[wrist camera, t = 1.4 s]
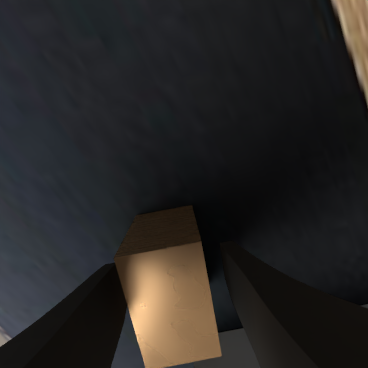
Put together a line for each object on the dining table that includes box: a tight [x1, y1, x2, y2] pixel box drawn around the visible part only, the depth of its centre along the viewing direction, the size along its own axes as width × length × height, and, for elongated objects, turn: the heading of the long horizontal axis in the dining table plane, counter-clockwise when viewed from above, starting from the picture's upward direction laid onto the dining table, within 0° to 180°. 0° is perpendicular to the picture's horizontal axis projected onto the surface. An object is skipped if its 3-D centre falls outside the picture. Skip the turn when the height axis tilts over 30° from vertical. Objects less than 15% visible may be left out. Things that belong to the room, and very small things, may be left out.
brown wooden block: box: [114, 205, 222, 368], centre depth 9 cm, size 3×5×4 cm, turn 10°
